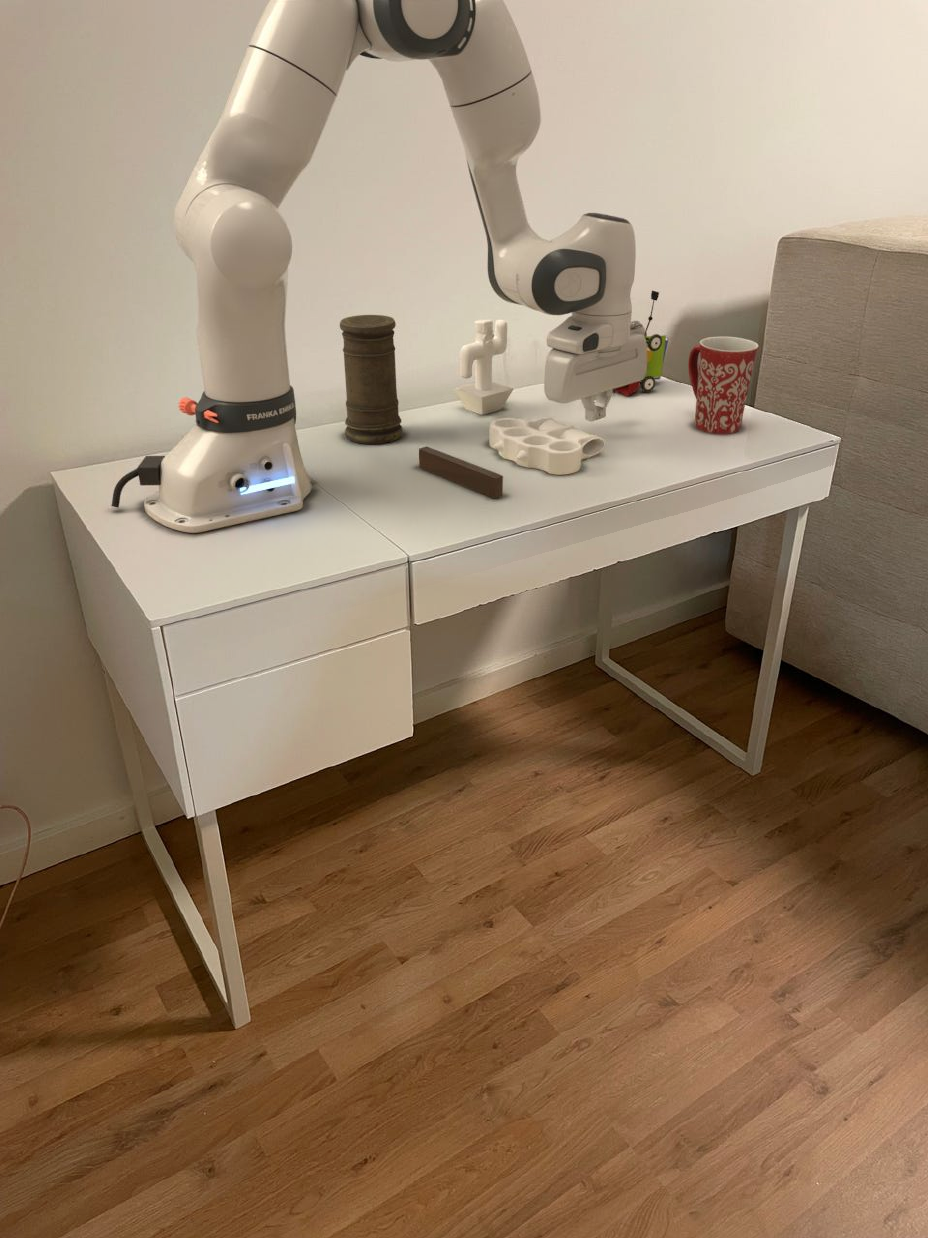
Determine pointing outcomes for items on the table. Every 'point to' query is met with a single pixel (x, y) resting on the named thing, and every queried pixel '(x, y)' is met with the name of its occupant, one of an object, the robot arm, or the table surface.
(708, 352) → the mug
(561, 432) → the cream flat holed block
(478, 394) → the figurine
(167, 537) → the table surface
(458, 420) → the table surface
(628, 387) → the robot toy
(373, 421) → the container
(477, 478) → the bar
